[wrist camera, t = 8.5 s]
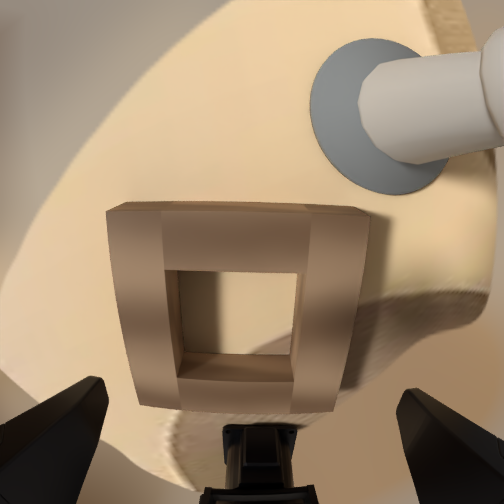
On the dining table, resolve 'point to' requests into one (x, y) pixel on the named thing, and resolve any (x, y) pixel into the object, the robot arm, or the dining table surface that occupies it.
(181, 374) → the walnut frame
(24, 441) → the robot arm
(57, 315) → the dining table surface
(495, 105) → the salt shaker
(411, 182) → the slate coaster
